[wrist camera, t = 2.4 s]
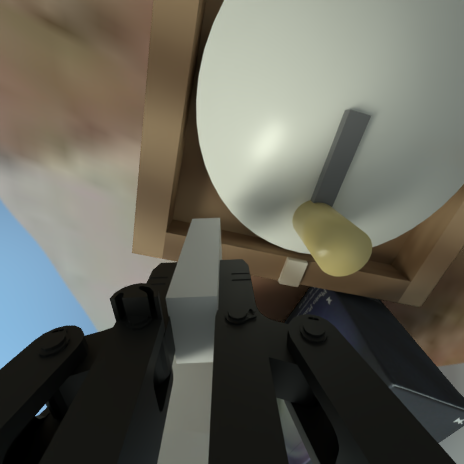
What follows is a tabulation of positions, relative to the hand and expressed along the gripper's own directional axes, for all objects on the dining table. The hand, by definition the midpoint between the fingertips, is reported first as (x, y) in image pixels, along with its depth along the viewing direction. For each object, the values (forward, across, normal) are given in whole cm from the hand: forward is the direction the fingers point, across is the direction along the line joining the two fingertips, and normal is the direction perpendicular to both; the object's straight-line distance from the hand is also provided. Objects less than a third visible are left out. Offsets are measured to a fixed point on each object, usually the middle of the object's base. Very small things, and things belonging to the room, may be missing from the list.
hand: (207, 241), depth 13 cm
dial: (+4, +8, +6) cm, 11 cm away
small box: (+6, +10, -12) cm, 16 cm away
